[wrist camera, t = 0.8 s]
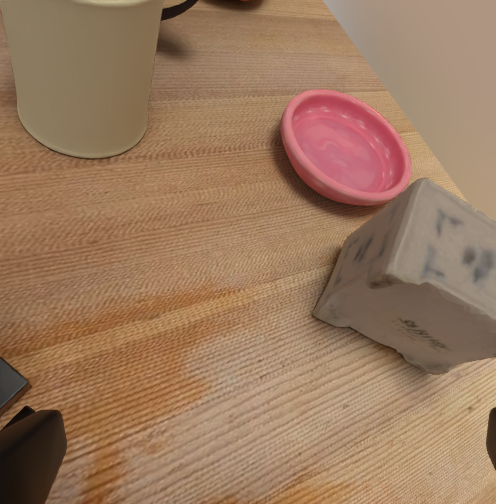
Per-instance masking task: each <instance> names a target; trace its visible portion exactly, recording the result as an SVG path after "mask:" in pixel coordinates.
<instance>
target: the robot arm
mask: <svg viewBox="0 0 496 504" xmlns="http://www.w3.org/2000/svg"><path fill="white" fill-rule="evenodd" d="M486 447H487V452H488V455H489V457H490V459H491V461H492V464H493V466H494V468H495V470H496V407H495V408H493V409H492V410H491V411H490V414H489V421H488V429H487V438H486ZM66 449H67V440H66V434H65V429H64V423H63V418H62V414H61V412H60V411H58V410H39V411H37V412H35V413H33V414H31V415H29V416H28V417H26V418H24V419H22V420H20V421H18V422H16V423H14V424H13V425H11V426H9V427H7V428H5V429H3V430H1V431H0V504H45V501H46V499H47V497H48V494H49V492H50V490H51V487H52V485H53V482H54V480H55V478H56V475H57V473H58V470H59V468H60V466H61V463H62V461H63V458H64V456H65V453H66Z"/></svg>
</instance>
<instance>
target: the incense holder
mask: <svg viewBox="0 0 496 504" xmlns="http://www.w3.org/2000/svg"><path fill="white" fill-rule="evenodd" d="M312 314H313V315H314V316H315V317H317V318H319V319H320V320H322V321H324V322H327V323H329V324H331V325H333V326H335V327H348V326H350V327H351V328H353V329H355V330H356V331H358V332H360V333H362V334H363V335H364V336H367V337H369V338H371V339H372V340H374V341H376V342H379V343H381V344H383V345H385V346H390V347H392V348H394V349H396V350H397V352H398V353H401V354H402V355H403V356H404V359H405V360H406V361H407V362H408V363H410V364H411V365H414V366H416V367H418V368H420V369H422V370H424V371H426V372H428V373H430V374H433V375H440V374H444V373H448V372H449V371H450V370H451V369H452V368H454V367H455V366H456V365H459V364H461V363H464V362H472V361H476V360H482V359H486V358H493V357H496V221H495V220H493V219H491V218H490V217H488V216H487V215H485V214H484V213H482V212H480V211H478V210H477V209H475V208H474V207H473V206H471V205H470V204H469V203H467V202H465V201H463V200H462V199H461V198H459V197H458V196H456V195H454V194H453V193H451V192H450V191H448V190H446V189H444V188H443V187H441V186H440V185H438V184H437V183H435V182H433V181H432V180H430V179H428V178H421V179H418V180H416V181H415V182H414V183H412V184H411V185H410V186H409V187H408V188H407V189H406V190H405V191H403V192H402V193H400V194H399V195H398V196H397V197H396V198H395V199H394V200H392V201H391V202H390V203H389V204H388V205H387V206H386V207H384V208H383V209H382V210H381V211H380V212H378V213H377V214H375V215H374V216H373V217H372V218H371V219H370V220H369V221H367V222H366V223H365V224H363V225H362V226H361V227H360V228H358V229H357V230H356V231H354V232H353V233H352V234H351V235H349V236H348V237H347V239H346V240H345V241H344V244H343V247H342V250H341V252H340V255H339V257H338V260H337V264H336V266H335V268H334V270H333V273H332V276H331V278H330V280H329V282H328V285H327V287H326V288H325V290H324V292H323V294H322V296H321V298H320V300H319V302H318V304H317V306H316V307H315V309H314V311H313V312H312Z"/></svg>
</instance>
